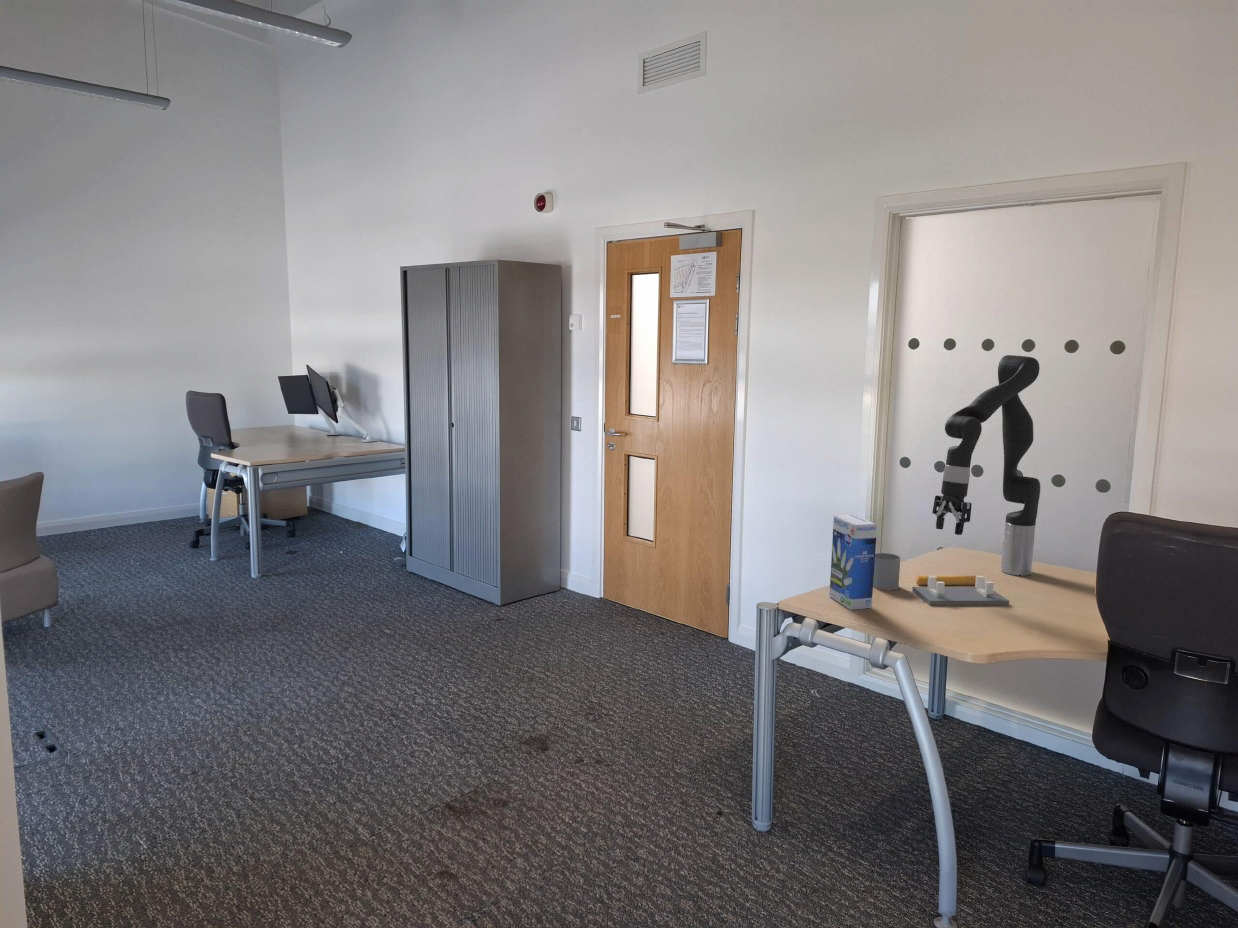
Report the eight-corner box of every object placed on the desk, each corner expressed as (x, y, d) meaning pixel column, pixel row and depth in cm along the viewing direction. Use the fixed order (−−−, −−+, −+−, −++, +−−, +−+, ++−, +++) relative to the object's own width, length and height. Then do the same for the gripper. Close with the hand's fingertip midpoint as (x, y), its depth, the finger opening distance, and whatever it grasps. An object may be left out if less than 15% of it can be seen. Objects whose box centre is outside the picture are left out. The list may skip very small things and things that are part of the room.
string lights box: (828, 596, 257) (832, 515, 253) (850, 594, 259) (854, 513, 255) (850, 610, 244) (855, 524, 240) (873, 608, 246) (878, 523, 242)
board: (912, 591, 263) (913, 572, 262) (987, 591, 263) (988, 572, 263) (929, 605, 249) (931, 586, 248) (1008, 605, 250) (1010, 586, 249)
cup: (889, 592, 262) (891, 561, 260) (866, 586, 268) (868, 556, 266) (903, 586, 267) (905, 556, 266) (880, 581, 273) (882, 551, 272)
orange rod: (919, 586, 268) (920, 577, 268) (915, 583, 271) (916, 574, 271) (982, 586, 269) (983, 577, 268) (978, 583, 272) (979, 574, 272)
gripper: (982, 484, 251) (974, 537, 253) (950, 477, 265) (943, 527, 266) (961, 483, 249) (954, 536, 251) (930, 476, 262) (923, 526, 264)
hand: (948, 531), depth 259 cm, fingers open, 8 cm apart
